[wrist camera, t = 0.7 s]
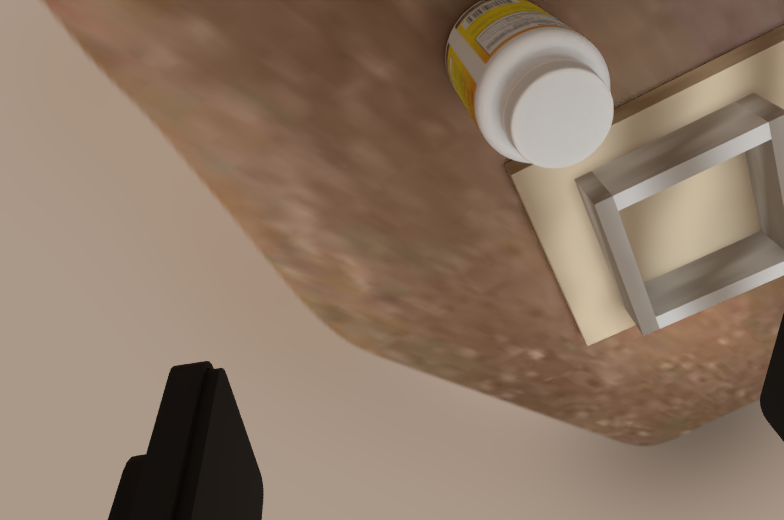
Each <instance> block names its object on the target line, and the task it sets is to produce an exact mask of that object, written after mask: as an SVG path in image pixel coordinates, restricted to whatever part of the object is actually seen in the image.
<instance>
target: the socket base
mask: <svg viewBox="0 0 784 520" xmlns="http://www.w3.org/2000/svg"><path fill="white" fill-rule="evenodd" d="M504 165H505V167H506V169H507V171H508V174H509V176H510V178H511V180H512V182H513V185H514V187H515V189H516V191H517V194H518V196H519V198H520V200H521V202H522V205H523V207H524V209H525V211H526V214H527V216H528V218H529V220H530V222H531V225H532V227H533V229H534V231H535V234H536V236H537V238H538V240H539V242H540V245H541V247H542V249H543V251H544V254H545V256H546V258H547V260H548V262H549V265H550V267H551V269H552V271H553V274H554V276H555V278H556V280H557V282H558V285H559V287H560V289H561V291H562V294H563V296H564V298H565V300H566V302H567V305H568V307H569V309H570V311H571V314H572V316H573V318H574V320H575V322H576V325H577V327H578V329H579V331H580V333H581V335H582V337H583V339H584V340H585V342H586V344H587V346H589V345H591V344H593V343H596V342H598V341H600V340H603V339H605V338H607V337H610V336H612V335H614V334H616V333H619V332H621V331H623V330H626V329H628V328H630V327H632V326H635V325H636V326H637V327H638V329H639V330H640V331H641V333H642V334H643V336H644V335H647V334H649V333H651V332H653V331H656V330H658V329H660V328H663V327H665V326H667V325H670V324H672V323H674V322H677V321H679V320H681V319H684V318H686V317H688V316H690V315H693V314H695V313H697V312H700V311H702V310H704V309H707V308H709V307H711V306H714V305H716V304H718V303H721V302H723V301H725V300H728V299H730V298H732V297H734V296H737V295H739V294H741V293H744V292H746V291H748V290H751V289H753V288H755V287H758V286H760V285H762V284H765V283H767V282H769V281H771V280H774V279H776V278H778V277H781V276H783V275H784V25H782V26H780V27H778V28H776V29H774V30H772V31H770V32H768V33H766V34H764V35H762V36H760V37H758V38H756V39H754V40H752V41H750V42H748V43H746V44H744V45H742V46H740V47H738V48H736V49H734V50H732V51H730V52H728V53H726V54H724V55H722V56H720V57H718V58H716V59H714V60H712V61H710V62H708V63H706V64H704V65H702V66H700V67H698V68H696V69H694V70H692V71H690V72H688V73H686V74H684V75H682V76H680V77H678V78H676V79H674V80H672V81H670V82H668V83H666V84H664V85H662V86H659V87H657V88H655V89H653V90H651V91H649V92H647V93H645V94H643V95H641V96H639V97H637V98H635V99H633V100H631V101H629V102H627V103H625V104H623V105H621V106H619V107H617V108H615V109H614V114H613V121H612V124H611V127H610V130H609V132H608V134H607V136H606V138H605V139H604V141H603V142H602V144H601V145H600V146H599V147H598V148H597V149H596V150H595V151H594V152H593V153H592V154H591V155H590V156H588V157H587V158H585V159H584V160H582V161H580V162H578V163H576V164H574V165H571V166H568V167H564V168H554V169H551V168H543V167H539V166H537V165H534V164H532V163H523V162H518V161H515V160H511V161H509V162H507V163H505V164H504Z"/></svg>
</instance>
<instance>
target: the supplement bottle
mask: <svg viewBox="0 0 784 520" xmlns="http://www.w3.org/2000/svg"><path fill="white" fill-rule="evenodd" d="M445 63H446V69H447V74H448V77H449V79H450V82H451V84H452V85H453V87H454V89H455V91H456V92H457V94H458V95H459V97H460V99H461V100H462V102H463V104H464V105H465V107H466V108H467V110H468V112H469V113H470V115H471V116H472V118H473V120H474V121H475V123H476V125H477V127H478V128H479V130H480V132H481V133H482V135H483V136H484V138H485V139H486V141H487V142H488V143H489V144H490V145H491V146H492V147H493V148H494V149H495V150H496V151H497V152H499V153H500V154H502V155H503V156H505V157H507V158H509V159H512V160H515V161H518V162H523V163H532V164H534V165H537V166H539V167H543V168H551V169H554V168H564V167H568V166H571V165H574V164H576V163H578V162H580V161H582V160H584V159H585V158H587V157H588V156H590V155H591V154H592V153H593V152H594V151H595V150H596V149H597V148H598V147H599V146H600V145H601V144H602V142H603V141H604V139H605V138H606V136H607V134H608V132H609V130H610V127H611V124H612V121H613V114H614V104H613V98H612V95H611V92H610V77H609V72H608V68H607V65H606V63H605V60H604V58H603V57H602V55H601V53H600V52H599V51H598V49H597V48H596V47H595V46H594V45H593V44H592V43H591V42H590V41H589V40H588V39H587V38H585V37H584V36H583V35H581V34H579V33H578V32H577V31H575V30H573V29H572V28H570V27H568V26H567V25H565V24H564V23H562V22H561V21H559V20H558V19H556V18H555V17H553V16H552V15H550V14H549V13H547V12H546V11H544V10H543V9H541V8H540V7H538V6H537V5H535V4H534V3H532V2H530V1H528V0H482V1H480V2H478V3H476V4H475V5H473V6H472V7H470V8H469V9H468V10H467V11H466V12H465V13H464V14H463V15H462V16H461V17H460V18H459V20H458V21H457V22H456V24H455V25H454V27H453V29H452V31H451V33H450V35H449V38H448V41H447V45H446V53H445Z"/></svg>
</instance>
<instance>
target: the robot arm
mask: <svg viewBox="0 0 784 520" xmlns="http://www.w3.org/2000/svg"><path fill="white" fill-rule="evenodd" d="M760 405H761V409H762V412H763V414H764V416H765V418H766V419H767V421H768V422H769V423H770V425H771V426H772V427H773V429H774V430H775V431H776V432H777V433H778V435H779V436H780V437H781V438H782V440H783V441H784V314H783V317H782V321H781V324H780V328H779V332H778V335H777V339H776V342H775V346H774V350H773V353H772V357H771V360H770V364H769V368H768V371H767V375H766V378H765V382H764V385H763V389H762V393H761V397H760ZM262 506H263V482H262V477H261V473H260V470H259V468H258V465H257V462H256V459H255V456H254V453H253V450H252V447H251V444H250V442H249V439H248V436H247V433H246V430H245V427H244V424H243V421H242V418H241V415H240V413H239V409H238V407H237V404H236V401H235V398H234V395H233V392H232V389H231V386H230V384H229V381H228V378H227V375H226V372H225V370H224V369H223V368H218V369H214V368H213V366H212V364H211V363H210V362H209V361H205V362H198V363H192V364H184V365H178V366H174V367H172V368H171V370H170V373H169V376H168V380H167V383H166V386H165V390H164V393H163V397H162V401H161V404H160V408H159V411H158V415H157V418H156V422H155V425H154V429H153V432H152V436H151V440H150V443H149V446H148V450H147V454H145V455H139V456H134V457H131V458H130V459H129V460H128V462H127V463H126V466H125V468H124V470H123V473H122V476H121V479H120V483H119V486H118V489H117V492H116V495H115V499H114V502H113V505H112V508H111V511H110V514H109V518H108V520H261V519H262V508H263V507H262Z"/></svg>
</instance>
